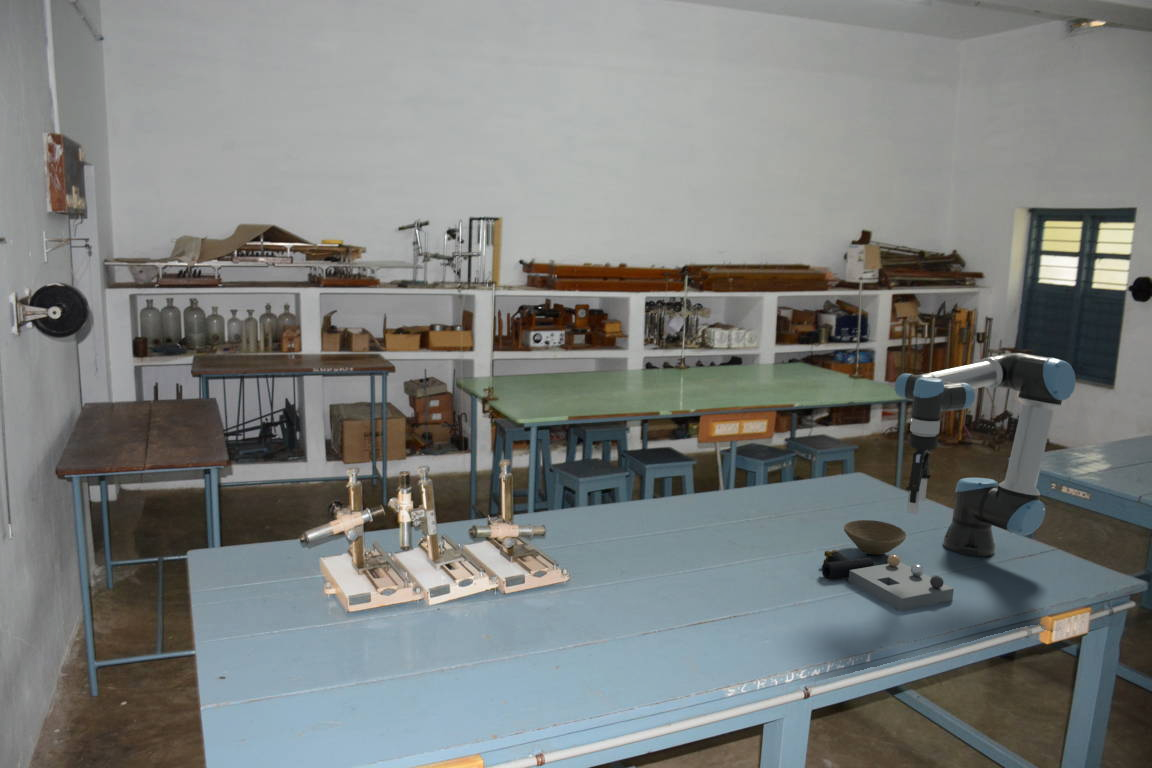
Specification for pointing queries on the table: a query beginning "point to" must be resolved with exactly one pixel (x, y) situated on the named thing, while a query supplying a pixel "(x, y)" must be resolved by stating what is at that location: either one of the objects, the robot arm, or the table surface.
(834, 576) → the pipe connector
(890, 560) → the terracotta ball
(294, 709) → the table surface
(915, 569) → the steel ball
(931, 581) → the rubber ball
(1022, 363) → the robot arm
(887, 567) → the slate board
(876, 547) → the bowl
